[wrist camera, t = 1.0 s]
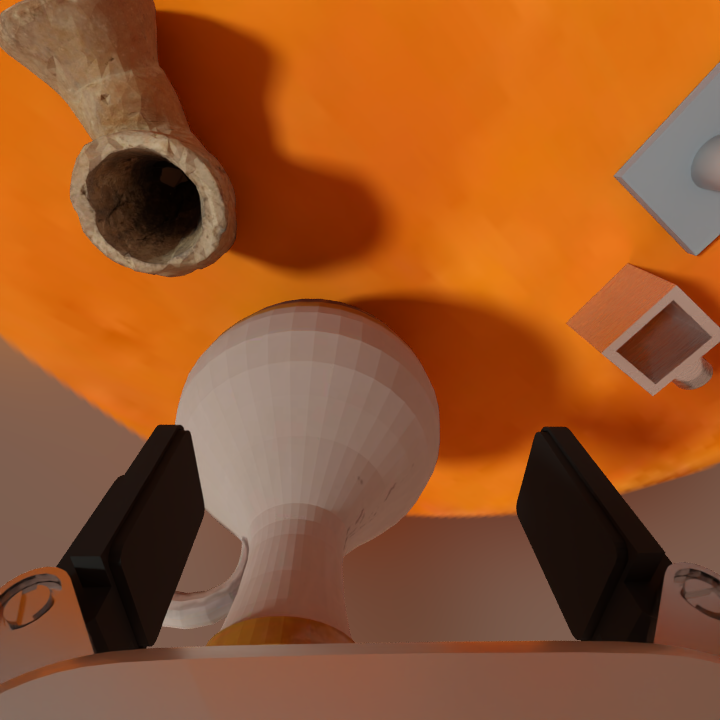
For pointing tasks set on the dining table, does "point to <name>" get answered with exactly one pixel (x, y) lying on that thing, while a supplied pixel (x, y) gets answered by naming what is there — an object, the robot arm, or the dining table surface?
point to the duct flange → (682, 169)
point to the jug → (302, 462)
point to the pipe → (127, 134)
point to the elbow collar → (649, 330)
